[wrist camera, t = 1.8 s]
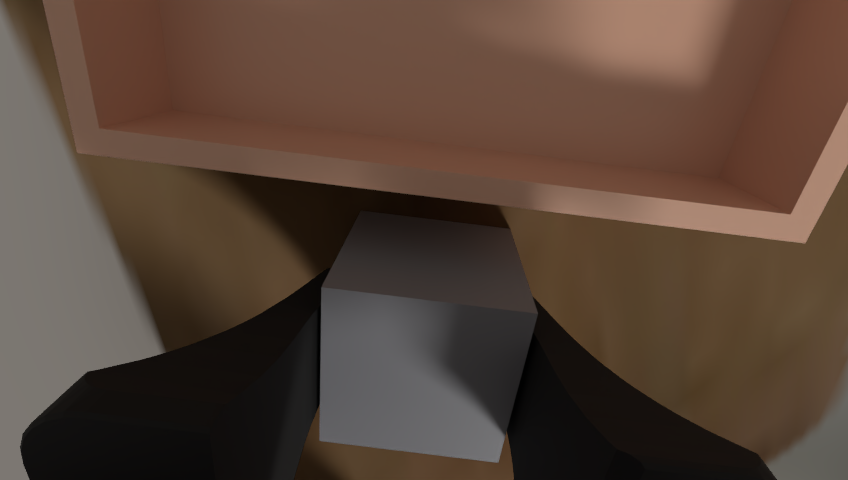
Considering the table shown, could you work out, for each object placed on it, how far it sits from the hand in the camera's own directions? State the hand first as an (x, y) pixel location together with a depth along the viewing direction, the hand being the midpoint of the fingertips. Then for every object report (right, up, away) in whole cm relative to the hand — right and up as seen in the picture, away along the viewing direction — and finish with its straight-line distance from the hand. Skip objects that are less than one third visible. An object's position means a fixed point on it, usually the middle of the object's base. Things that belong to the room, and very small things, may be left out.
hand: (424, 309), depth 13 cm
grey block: (0, +1, +1) cm, 2 cm away
